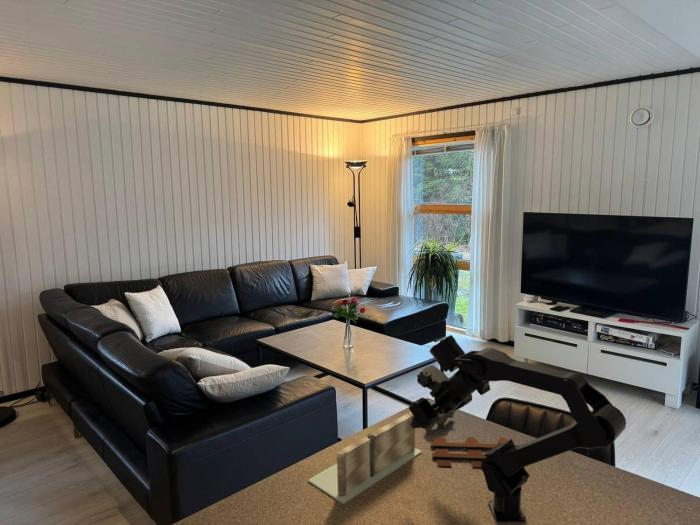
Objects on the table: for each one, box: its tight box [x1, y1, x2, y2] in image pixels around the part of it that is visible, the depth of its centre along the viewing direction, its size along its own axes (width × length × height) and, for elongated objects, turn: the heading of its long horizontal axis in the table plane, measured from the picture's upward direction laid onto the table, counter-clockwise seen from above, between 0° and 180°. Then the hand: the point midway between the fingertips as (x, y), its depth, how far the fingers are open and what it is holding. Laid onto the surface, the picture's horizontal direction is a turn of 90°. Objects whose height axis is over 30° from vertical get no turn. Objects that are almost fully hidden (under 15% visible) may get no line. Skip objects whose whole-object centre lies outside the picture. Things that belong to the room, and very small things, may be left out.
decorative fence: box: [430, 435, 517, 470], centre depth 131 cm, size 23×2×15 cm
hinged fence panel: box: [370, 411, 416, 473], centre depth 126 cm, size 16×2×10 cm, turn 135°
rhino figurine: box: [425, 410, 456, 435], centre depth 145 cm, size 4×14×6 cm, turn 130°
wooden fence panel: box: [336, 433, 374, 497], centre depth 116 cm, size 12×2×11 cm, turn 135°
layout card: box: [307, 447, 423, 505], centre depth 125 cm, size 30×12×1 cm, turn 135°
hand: (423, 419), depth 121 cm, fingers open, 9 cm apart
